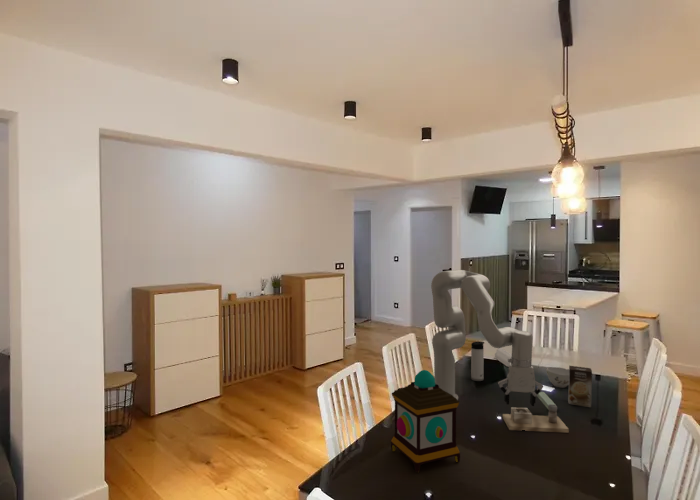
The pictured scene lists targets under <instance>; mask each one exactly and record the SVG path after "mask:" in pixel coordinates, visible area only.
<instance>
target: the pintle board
mask: <svg viewBox="0 0 700 500" xmlns="http://www.w3.org/2000/svg"><path fill="white" fill-rule="evenodd" d="M519 412H522V413H524V412H523V411H519ZM502 419H503V421H504V423H505V424H506V426H507V428H508V430H509V431H522V430H525V431H527V432H545V433H547V432H548V433H565V434H566V433H570V432H569V431H570V430H569V427H568V426H566V424H565V423H564V422H563V421H562V419H561V418H560V417H559V416H558V411H557V412H552V411H549V410H548V415H537V414H536V415H533V414H532V424H516V423H514V421H513V419H512V418H511V413H510V414H509V413H502Z"/></svg>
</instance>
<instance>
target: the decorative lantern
mask: <svg viewBox="0 0 700 500" xmlns="http://www.w3.org/2000/svg"><path fill="white" fill-rule="evenodd" d="M391 395H392V398H393V400H394V434H393V437H392V439H391V440H390V450H391V451H392V452H395V451H396V449H397V450H399V451H400V452H401V453H402V454H403V455H404V456H405V457H406V458H407V459H409V461H411V462H412V463H413V465H414V472H415V473H416V472H418V473H419V472H420V469H421V465H424V464H428V463H432V462H436V461H440V460H444V459H448V458H453V457H454V462H455V461H456V462H458V463H460V461H461V452H460V450H459V447H458V446H457V408H458V407H459V404H460V401H459V399H458V400H457V399H456V398H455V397H453V395H451V394H449V393H448V392H446V391H444V390H442V389H441V388H439V385H437V384H435V378H434V375H433V374H432V373H431V372H430V371H429V370H427V369H422V370H420V371H419V372H418V373H416V374H415V376H414V381H410V384H408V385H407V386H403V387H398V388H397V389H395V390H394V391H392V392H391ZM456 462H455V463H456Z"/></svg>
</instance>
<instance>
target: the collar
mask: <svg viewBox="0 0 700 500" xmlns="http://www.w3.org/2000/svg"><path fill="white" fill-rule="evenodd" d="M519 411H523V412H524V413H522V412H519ZM510 414H511V418H512V419H513V421H514V423H516V424H532V415H533V413H532V412H531V410H529V409H528V407H514V406H512V407H510Z"/></svg>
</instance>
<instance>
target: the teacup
mask: <svg viewBox="0 0 700 500" xmlns="http://www.w3.org/2000/svg"><path fill="white" fill-rule="evenodd" d="M546 374H547V378H548V381H550V383H551V384H552V386H553V387H556V388H562V389H565V388H567V387H568V386H569V368H564V367H560V366H559V367H557V366H556V367H553V366H551V367H547V368H546Z"/></svg>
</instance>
